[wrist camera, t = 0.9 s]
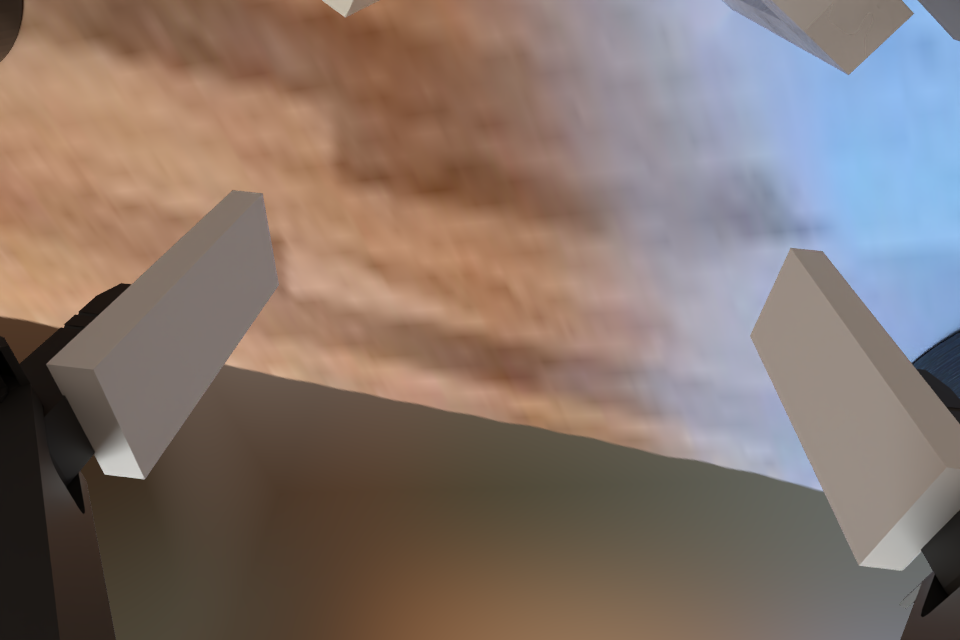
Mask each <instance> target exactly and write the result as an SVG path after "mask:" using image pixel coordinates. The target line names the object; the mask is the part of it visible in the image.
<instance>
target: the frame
mask: <svg viewBox="0 0 960 640" xmlns="http://www.w3.org/2000/svg"><path fill="white" fill-rule="evenodd" d="M722 1H723V2H725V3H726V4H727V5H728V6H729V7H730V8H731V9H732V10H734V11H736V12H737V13H739V14H741V15H743V16H745V17H746V18H748V19H750V20H752V21H753V22H755V23H757V24H759V25H761V26H762V27H764V28H766V29H768V30H770V31H771V32H773V33H775V34H777V35H778V36H780V37H782V38H784V39H786V40H787V41H789V42H791V43H793V44H794V45H796V46H798V47H800V48H802V49H803V50H805V51H807V52H809V53H810V54H812V55H814V56H816V57H818V58H819V59H821V60H823V61H825V62H826V63H828V64H830V65H832V66H834V67H835V68H837V69H839V70H841V71H843V72H844V73H846V74H848V75H849V74H850V73H851V72H852V71H853V70H854V69H855V68H857V67H858V66H859V65H860V64H861V63H862V62H863V61H864V60H865V59H866V58H867V57H868V56H869V55H870V54H871V53H872V52H874V51H875V50H876V49H877V48H878V47H879V46H880V45H881V44H882V43H883V42H884V41H885V40H886V39H887V38H888V37H890V36H891V35H892V34H893V33H894V32H895V31H896V30H897V29H898V28H899V27H900V26H901V25H902V24H903V23H904V22H906V21H907V20H908V19H909V18H910V17H911V16H912V15H913V14H914V13H913V12H912V11H911V10H910V9H909V8H908V7H907V5H906V4H905V3H904V2H903V1H902V0H722Z"/></svg>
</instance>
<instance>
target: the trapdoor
mask: <svg viewBox="0 0 960 640" xmlns="http://www.w3.org/2000/svg"><path fill="white" fill-rule="evenodd" d="M918 1H919V2H920V3H921V4H922V5H923V6H924V8H925V9H926V10H927V11H928V12H929V13H930V14H931V15H932V16H933V17H934V18H935V19H936V21H937V22H938V23H939V24H940V25H941V26H942V27H943V28H944V29H945V30H946V31H947V32H948V33H949V35H950V36H951V37H952V38H953V39H955V40H958V41H960V0H918Z"/></svg>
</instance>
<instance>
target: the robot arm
mask: <svg viewBox="0 0 960 640" xmlns="http://www.w3.org/2000/svg"><path fill="white" fill-rule="evenodd" d="M21 15H22V0H0V62H1V61H2V60H3V59H4V58H5V57H6V55H7V54H8V53H9V51H10V50H11V48H12V46H13V44H14V42H15V40H16V38H17V35H18V31H19V28H20V22H21ZM278 285H279V283H278V277H277V272H276V266H275V260H274V255H273V249H272V244H271V238H270V232H269V227H268V221H267V216H266V210H265V204H264V199H263V193H254V192H244V191H235V190H232V191H231V192H230V193H229V194H228V195H227V196H226V197H225V198H224V199H223V200H222V201H221V202H220V203H219V204H217V205H216V206H215V207H214V208H213V209H212V210H211V211H210V212H209V213H208V214H207V215H206V216H205V217H203V218H202V219H201V220H200V221H199V222H198V223H197V224H196V225H195V226H194V227H193V228H192V229H191V230H190V231H188V232H187V233H186V234H185V235H184V236H183V237H182V238H181V239H180V240H179V241H178V242H177V243H176V244H174V245H173V246H172V247H171V248H170V249H169V250H168V251H167V252H166V253H165V254H164V255H163V256H162V257H161V258H159V259H158V260H157V261H156V262H155V263H154V264H153V265H152V266H151V267H150V268H149V269H148V270H147V271H145V272H144V273H143V274H142V275H141V276H140V277H139V278H138V279H137V280H136V281H135V282H134V283H133V284H123V283H121V284H119V285H117V286H115V287H113V288H111V289H109V290H107V291H105V292H103V293H101V294H99V295H97V296H96V297H95V298H94V299H92V300H91V301H90V302H89V303H88V304H87V305H86V306H85V307H83V308H82V309H81V310H80V311H79V314H78V315H74V316H73V317H72V318H71V319H70V320H69V321H68V322H66V323H65V324H64V325H65V326H64V328H60V329H58V331H56V332H55V333H54V334H53V335H52V336H51V337H50V338H48V339H47V340H46V341H45V342H44V343H43V344H42V345H40V346H39V347H38V348H37V349H36V350H35V351H34V352H33V353H32V354H30V355H29V356H28V357H27V358H26V359H25V360H24V361H22V362H21V363H20V364H19V363H18V361H17V359H16V358H15V356H14V354H13V352H12V351H11V349H10V347H9V345H8V344H7V342H6V340H5V338H3V337H1V336H0V640H116V637H115V632H114V627H113V621H112V616H111V611H110V605H109V600H108V595H107V589H106V584H105V578H104V573H103V567H102V562H101V557H100V552H99V546H98V541H97V535H96V530H95V524H94V519H93V514H92V508H91V503H90V497H89V492H88V487H87V482H86V480H85V478H84V476H83V475H82V473H81V471H80V470H81V469H82V468H83V466H84V465H85V464H86V463H87V462H88V460H89V459H90V458H91V457H92V455H93V454H94V455H95V457H96V459H97V461H98V463H99V464H100V466H101V468H102V470H103V472H104V474H106V475H115V476H123V477H131V478H139V479H145V478H146V477H147V475H148V474H149V472H150V471H151V469H152V468H153V466H154V465H155V464H156V462H157V461H158V459H159V458H160V456H161V455H162V453H163V452H164V451H165V449H166V448H167V446H168V445H169V443H170V442H171V440H172V439H173V437H174V436H175V434H176V433H177V432H178V430H179V429H180V427H181V426H182V424H183V423H184V422H185V420H186V418H187V417H188V416H189V414H190V413H191V411H192V410H193V408H194V407H195V406H196V404H197V403H198V401H199V400H200V398H201V397H202V395H203V394H204V392H205V391H206V390H207V388H208V387H209V385H210V384H211V382H212V381H213V379H214V378H215V377H216V375H217V374H218V372H219V371H220V369H221V368H222V366H223V365H224V364H225V362H226V361H227V359H228V358H229V356H230V355H231V353H232V352H233V350H234V349H235V348H236V346H237V345H238V343H239V342H240V340H241V339H242V337H243V336H244V335H245V333H246V332H247V330H248V329H249V327H250V326H251V324H252V323H253V322H254V320H255V319H256V317H257V316H258V314H259V313H260V311H261V310H262V308H263V307H264V306H265V304H266V303H267V301H268V300H269V298H270V297H271V295H272V294H273V293H274V291H275V290H276V288H277V287H278ZM750 337H751V339H752V341H753V343H754V345H755V347H756V349H757V351H758V353H759V356H760V358H761V360H762V362H763V364H764V366H765V368H766V370H767V372H768V375H769V377H770V379H771V381H772V383H773V385H774V387H775V389H776V391H777V394H778V396H779V398H780V400H781V402H782V404H783V406H784V408H785V410H786V413H787V415H788V417H789V419H790V421H791V423H792V425H793V427H794V429H795V432H796V434H797V436H798V438H799V440H800V442H801V444H802V446H803V448H804V451H805V453H806V455H807V457H808V459H809V461H810V463H811V465H812V467H813V470H814V472H815V474H816V476H817V478H818V480H819V482H820V484H821V486H822V489H823V491H824V493H825V495H826V497H827V499H828V501H829V503H830V505H831V508H832V510H833V512H834V514H835V516H836V518H837V520H838V522H839V524H840V526H841V529H842V531H843V533H844V535H845V537H846V539H847V541H848V543H849V545H850V548H851V550H852V552H853V554H854V556H855V558H856V560H857V562H858V565H859V566H867V567H876V568H884V569H892V570H900V571H903V570H904V569H905V568H906V566H907V565H909V563H911V562H912V561H913V559H915V558H916V557H917V556H918V555H919V554H920V553H921V552H923V554H924V556H925V558H926V559H927V561H928V563H929V564H930V566H931V568H932V570H933V572H932V573H931V574H930V575H929V576H927V577H926V578H925V579H924V580H923V581H922V582H921V583H920V584H919V585H918V586H917V587H916V588H915V589H914V590H913V591H912V592H911V593H910V594H908V596H906V597H905V598H904V599H903V601H902V602H901V603H900V604H899V605H900V606H902V607H903V608H905V609H906V608H908V607H909V606H910V605H911V604H912V603H914V605H913V608H912V610H911V613H910V616H909V619H908V621H907V624H906V626H905V629H904V632H903V634H902V637H901V640H960V399H959V398H958V397H957V395H956V394H955V393H954V392H953V391H952V389H951V388H949V387H948V386H947V385H945V384H944V383H943V382H941V381H940V380H939V379H937V378H936V377H935V376H933V375H932V374H931V373H929V372H928V371H927V370H923V369H916V368H915V367H914V366H913V365H912V363H911V362H910V361H909V360H908V358H907V357H906V356H905V355H904V353H903V352H902V351H901V349H900V348H899V347H898V346H897V344H896V343H895V342H894V341H893V339H892V338H891V337H890V336H889V334H888V333H887V332H886V331H885V329H884V328H883V327H882V326H881V324H880V323H879V322H878V321H877V319H876V318H875V317H874V315H873V314H872V313H871V312H870V310H869V309H868V308H867V307H866V305H865V304H864V303H863V302H862V300H861V299H860V298H859V297H858V295H857V294H856V293H855V292H854V290H853V289H852V288H851V287H850V285H849V284H848V283H847V282H846V280H845V279H844V278H843V276H842V275H841V274H840V273H839V271H838V270H837V269H836V268H835V266H834V265H833V264H832V263H831V261H830V260H829V259H828V258H827V256H826V255H825V254H824V253H823V251H815V250H805V249H796V248H790V251H789V253H788V255H787V257H786V259H785V261H784V264H783V266H782V268H781V270H780V272H779V274H778V277H777V279H776V281H775V283H774V285H773V288H772V290H771V292H770V294H769V296H768V298H767V301H766V303H765V305H764V307H763V309H762V311H761V314H760V316H759V318H758V320H757V322H756V324H755V327H754V329H753V331H752V333H751V335H750Z"/></svg>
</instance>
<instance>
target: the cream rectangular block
mask: <svg viewBox="0 0 960 640" xmlns="http://www.w3.org/2000/svg"><path fill="white" fill-rule="evenodd" d="M323 1H324V2H325V3H327V4H328V5H329V6H331V7H332V8H333V9H335V10H336V11H337V12H339V13H340V14H341V15H343V16H344V17H347V16H349V15H351V14H353V13H355V12H357V11H359V10H361V9H363V8H365V7H367V6H369V5H371V4H373V3H375V2H377V1H379V0H323Z"/></svg>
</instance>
